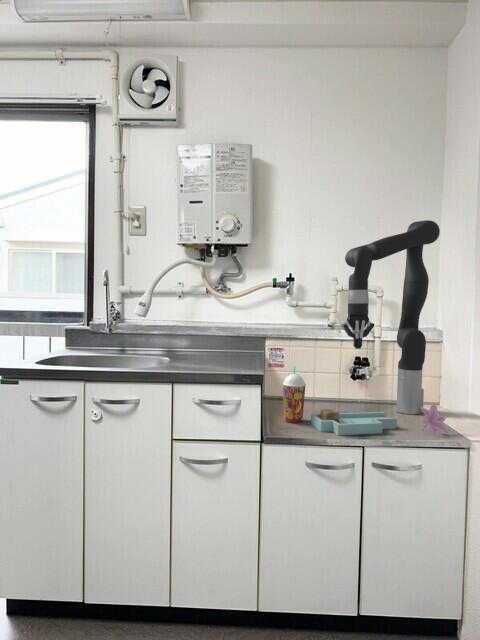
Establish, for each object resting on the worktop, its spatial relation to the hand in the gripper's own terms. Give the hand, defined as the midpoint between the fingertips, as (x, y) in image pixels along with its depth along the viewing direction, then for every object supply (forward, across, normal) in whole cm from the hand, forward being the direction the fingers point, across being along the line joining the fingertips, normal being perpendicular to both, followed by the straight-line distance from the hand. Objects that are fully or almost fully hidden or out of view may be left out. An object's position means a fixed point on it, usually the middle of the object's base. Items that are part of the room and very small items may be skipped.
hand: (357, 348), depth 195 cm
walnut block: (+24, +15, +10) cm, 30 cm away
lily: (+27, -16, +24) cm, 40 cm away
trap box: (+26, +7, +14) cm, 30 cm away
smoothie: (+26, +26, +1) cm, 36 cm away
